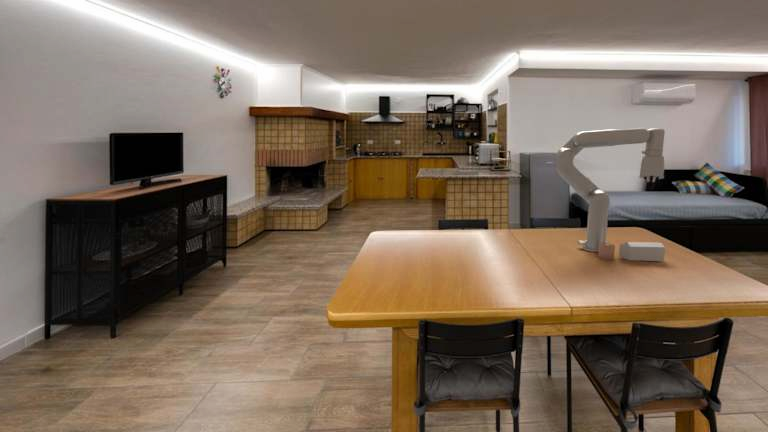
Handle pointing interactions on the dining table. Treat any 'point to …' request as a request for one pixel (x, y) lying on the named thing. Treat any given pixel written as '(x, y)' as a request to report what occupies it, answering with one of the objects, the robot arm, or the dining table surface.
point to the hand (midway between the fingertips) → (650, 189)
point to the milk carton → (642, 251)
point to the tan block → (606, 251)
